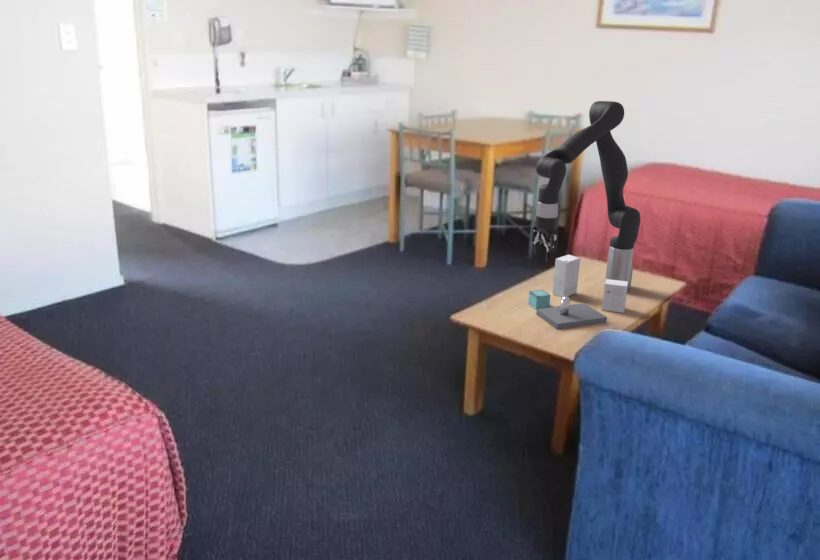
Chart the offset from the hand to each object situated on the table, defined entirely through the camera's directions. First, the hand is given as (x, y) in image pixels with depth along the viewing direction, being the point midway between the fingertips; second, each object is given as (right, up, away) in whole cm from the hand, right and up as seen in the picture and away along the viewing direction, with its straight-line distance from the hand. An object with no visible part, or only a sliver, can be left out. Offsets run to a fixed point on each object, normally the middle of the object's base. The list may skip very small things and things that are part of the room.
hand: (542, 258), depth 247 cm
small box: (+27, -19, +5) cm, 33 cm away
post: (+6, -20, -6) cm, 22 cm away
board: (+9, -22, -4) cm, 24 cm away
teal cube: (0, -18, +6) cm, 19 cm away
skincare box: (+12, -14, +19) cm, 26 cm away
